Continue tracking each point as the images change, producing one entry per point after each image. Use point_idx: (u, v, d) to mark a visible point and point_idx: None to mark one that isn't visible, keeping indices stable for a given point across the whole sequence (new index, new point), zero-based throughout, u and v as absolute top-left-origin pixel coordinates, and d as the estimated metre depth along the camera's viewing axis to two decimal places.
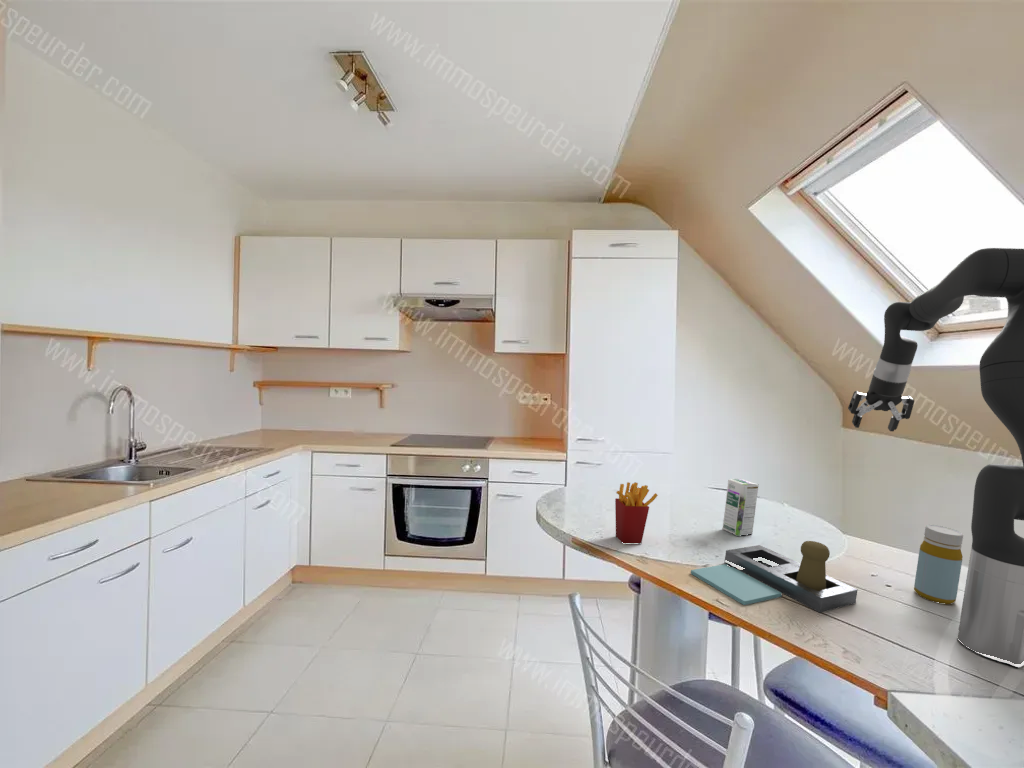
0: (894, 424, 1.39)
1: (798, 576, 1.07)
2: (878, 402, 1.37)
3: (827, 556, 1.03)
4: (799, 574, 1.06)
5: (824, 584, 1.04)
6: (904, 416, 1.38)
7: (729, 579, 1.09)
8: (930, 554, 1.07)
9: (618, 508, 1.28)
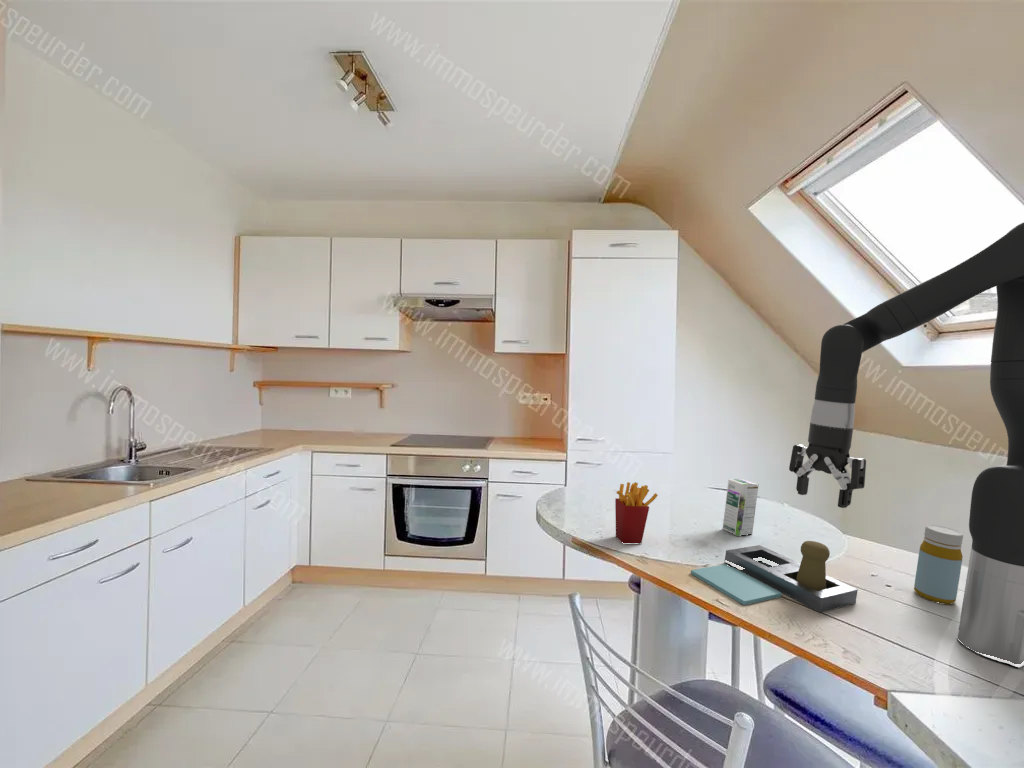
0: None
1: (798, 576, 1.07)
2: None
3: (827, 556, 1.03)
4: (799, 574, 1.06)
5: (824, 584, 1.04)
6: (800, 469, 1.10)
7: (729, 579, 1.09)
8: (930, 554, 1.07)
9: (618, 508, 1.28)
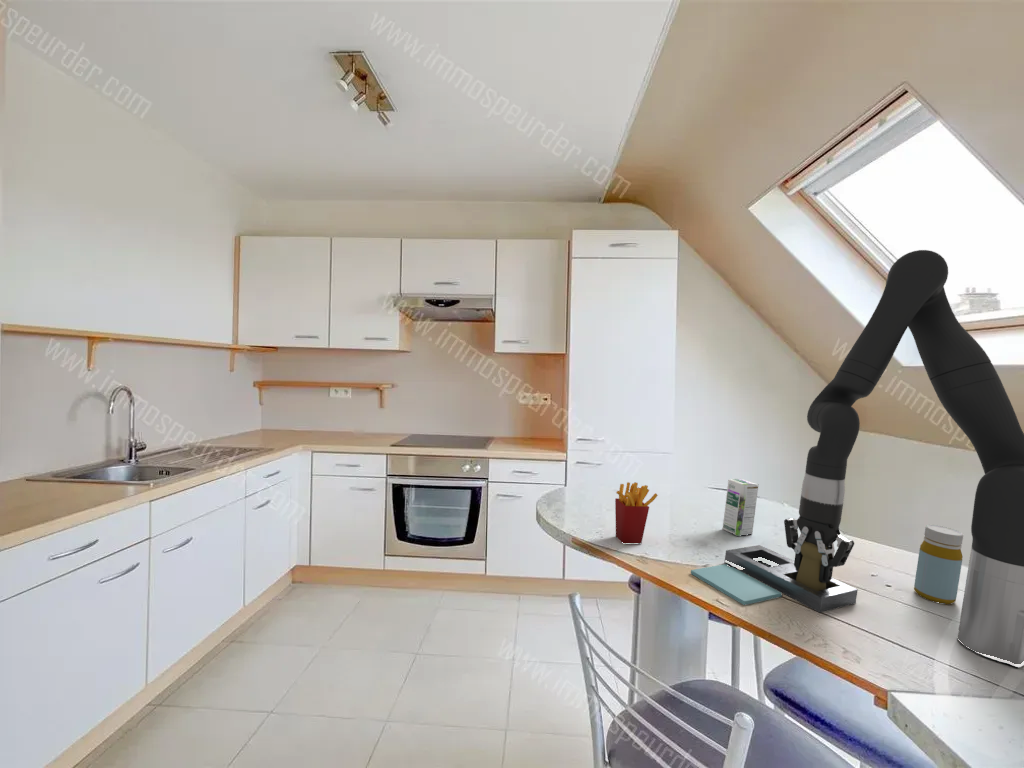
0: None
1: (798, 576, 1.07)
2: None
3: None
4: (799, 574, 1.06)
5: (824, 584, 1.04)
6: None
7: (729, 579, 1.09)
8: (930, 554, 1.07)
9: (618, 508, 1.28)
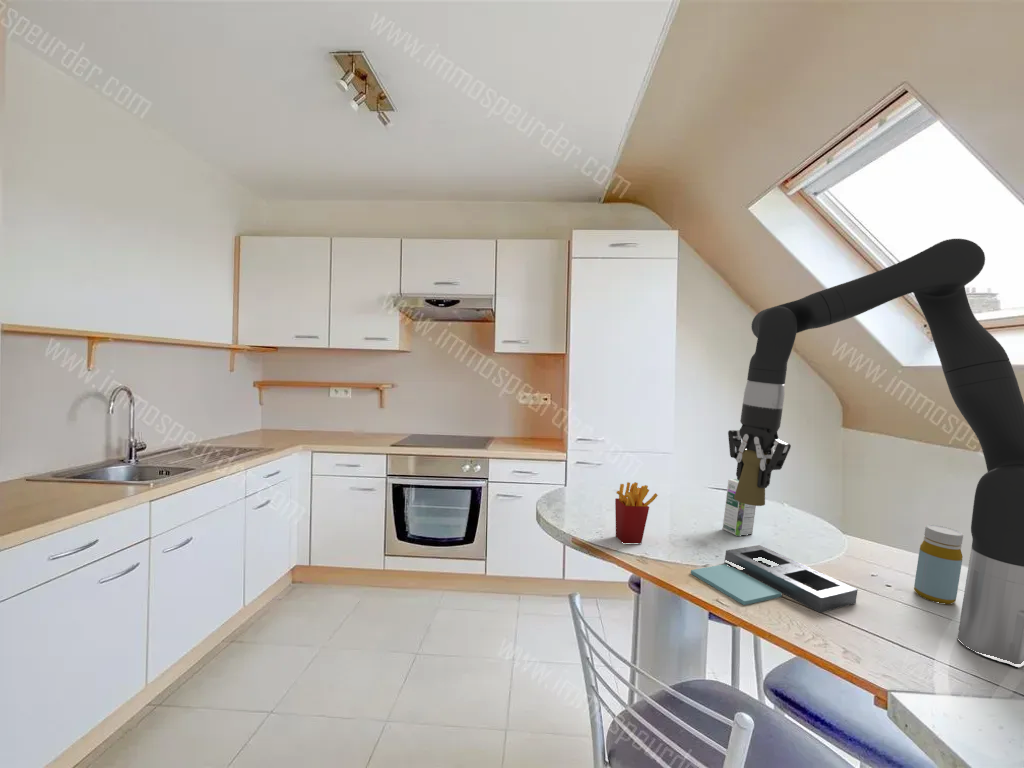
0: None
1: (738, 483, 1.07)
2: None
3: (766, 461, 1.04)
4: (740, 481, 1.07)
5: (763, 490, 1.05)
6: None
7: (729, 579, 1.09)
8: (930, 554, 1.07)
9: (618, 508, 1.28)
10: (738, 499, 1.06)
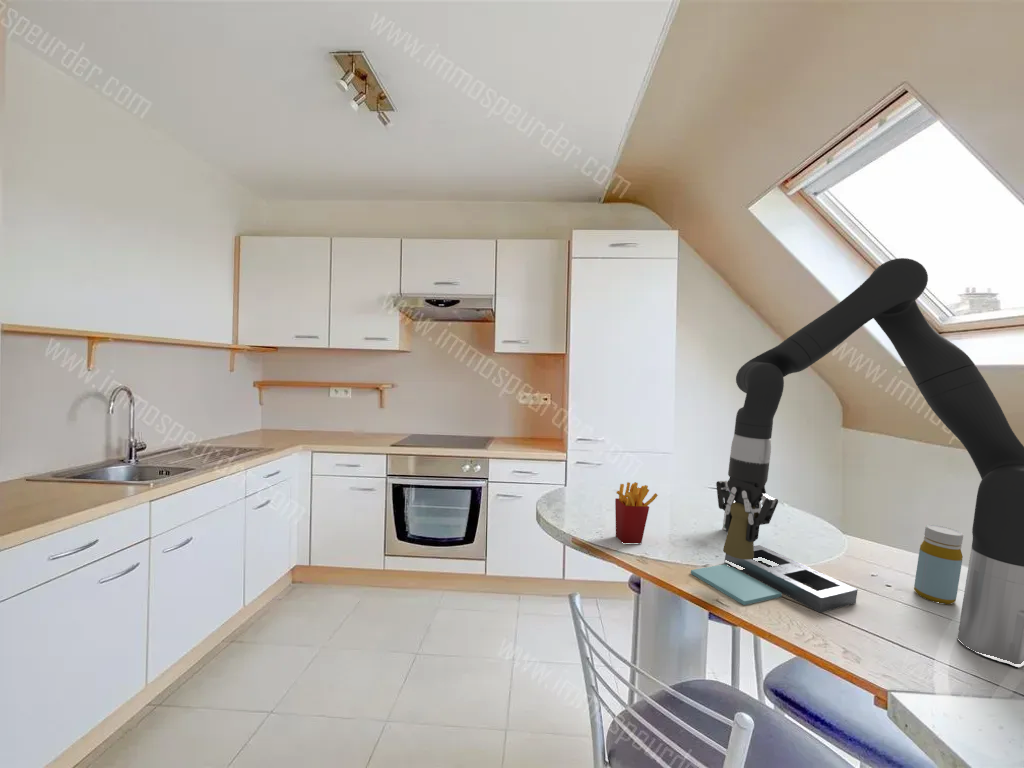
0: None
1: (727, 536, 1.08)
2: None
3: (754, 515, 1.05)
4: (728, 534, 1.07)
5: (751, 543, 1.05)
6: None
7: (729, 579, 1.09)
8: (930, 554, 1.07)
9: (618, 508, 1.28)
10: (727, 552, 1.07)
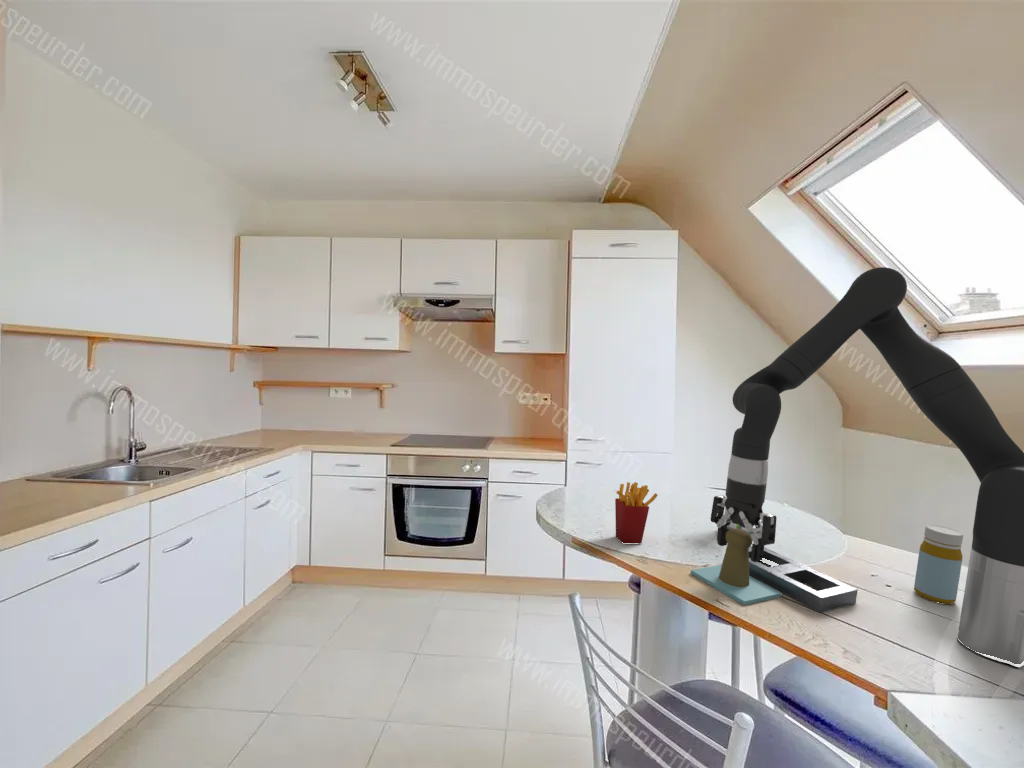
0: None
1: (723, 563, 1.08)
2: None
3: (749, 543, 1.05)
4: (724, 561, 1.08)
5: (747, 570, 1.06)
6: None
7: None
8: (930, 554, 1.07)
9: (618, 508, 1.28)
10: (723, 579, 1.07)
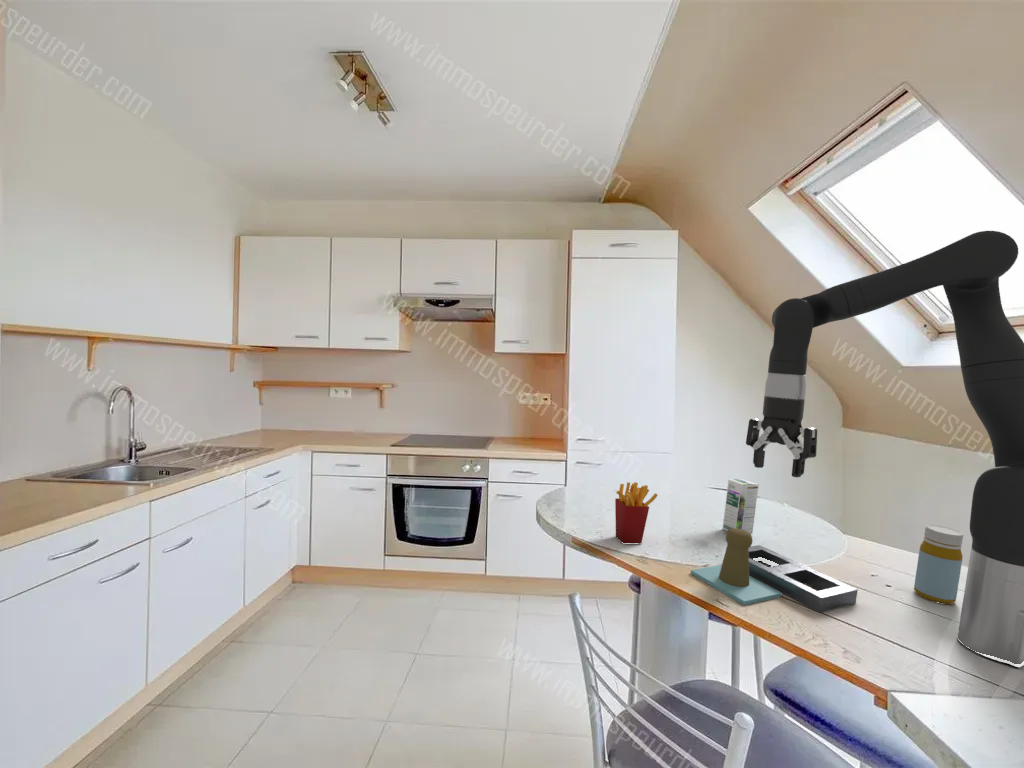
0: None
1: (723, 563, 1.08)
2: None
3: (749, 543, 1.05)
4: (724, 561, 1.08)
5: (747, 570, 1.06)
6: None
7: None
8: (930, 554, 1.07)
9: (618, 508, 1.28)
10: (723, 579, 1.07)
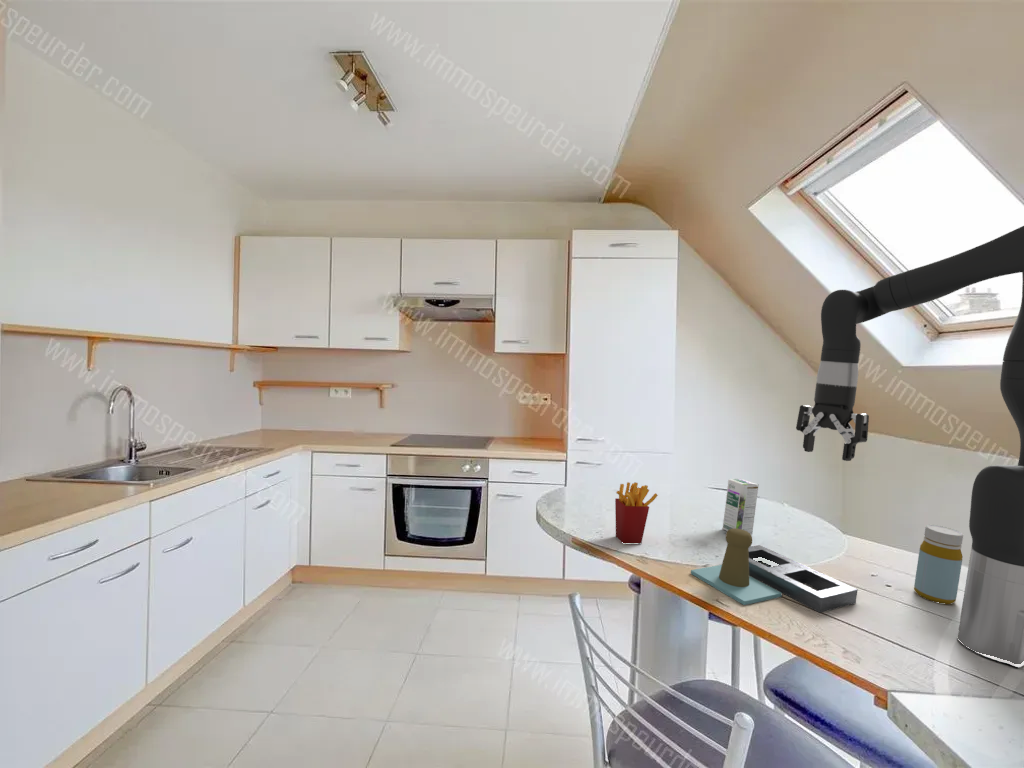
0: None
1: (723, 563, 1.08)
2: None
3: (749, 543, 1.05)
4: (724, 561, 1.08)
5: (747, 570, 1.06)
6: None
7: None
8: (930, 554, 1.07)
9: (618, 508, 1.28)
10: (723, 579, 1.07)
